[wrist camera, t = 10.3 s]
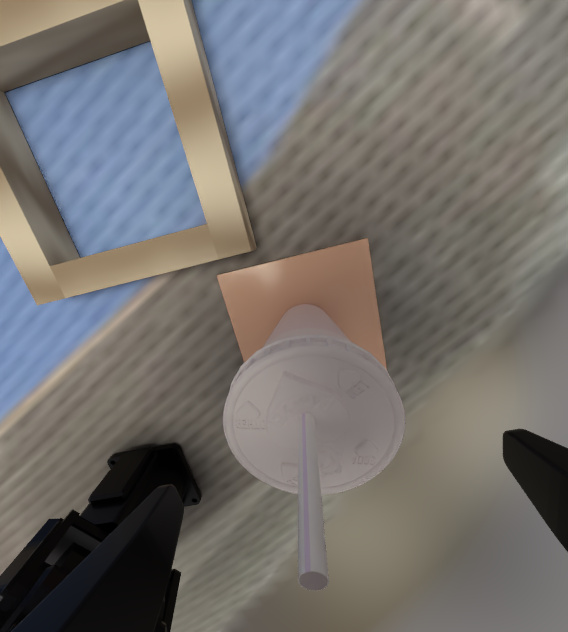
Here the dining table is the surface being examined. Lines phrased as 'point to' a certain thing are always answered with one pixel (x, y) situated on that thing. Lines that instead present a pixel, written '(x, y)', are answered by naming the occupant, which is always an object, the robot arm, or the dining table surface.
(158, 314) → the dining table surface
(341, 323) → the coaster
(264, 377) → the smoothie
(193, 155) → the holder
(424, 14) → the dining table surface
